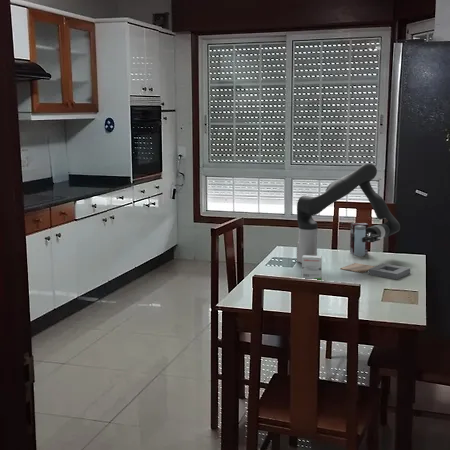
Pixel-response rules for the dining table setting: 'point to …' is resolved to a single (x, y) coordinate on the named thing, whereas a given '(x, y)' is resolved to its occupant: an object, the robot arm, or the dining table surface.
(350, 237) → the supplement box
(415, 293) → the dining table surface
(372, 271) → the frame
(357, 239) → the cylinder
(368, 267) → the pad
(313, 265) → the ink box
